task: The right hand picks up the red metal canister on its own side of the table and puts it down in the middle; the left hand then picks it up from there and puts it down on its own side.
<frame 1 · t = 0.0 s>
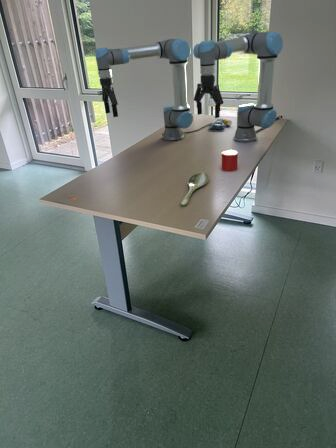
left hand: (111, 114, 206), 28 cm above the table, tool pointing down, fingers open, 13 cm apart
right hand: (208, 115, 185), 28 cm above the table, tool pointing down, fingers open, 13 cm apart
canister: (229, 168, 191), on the table
spoon: (193, 190, 170), on the table
spray gun: (221, 126, 264), on the table
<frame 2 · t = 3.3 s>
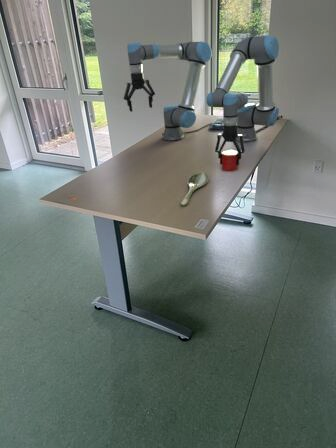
left hand: (141, 109, 209), 29 cm above the table, tool pointing down, fingers open, 13 cm apart
right hand: (229, 164, 189), 3 cm above the table, tool pointing down, fingers closed on canister, 9 cm apart
canister: (229, 168, 191), on the table, touching right hand
everything else where it was.
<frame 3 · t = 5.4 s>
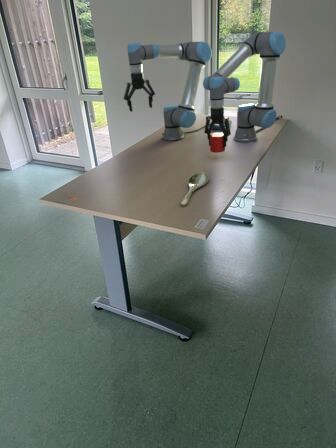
left hand: (141, 109, 209), 29 cm above the table, tool pointing down, fingers open, 13 cm apart
right hand: (217, 145, 199), 9 cm above the table, tool pointing down, fingers closed on canister, 9 cm apart
canister: (217, 150, 201), point 6 cm above the table, touching right hand
everything else where it was.
when the right hand's fingers open (4 cm above the table, at t = 7.8 s): canister drops 2 cm, on the table.
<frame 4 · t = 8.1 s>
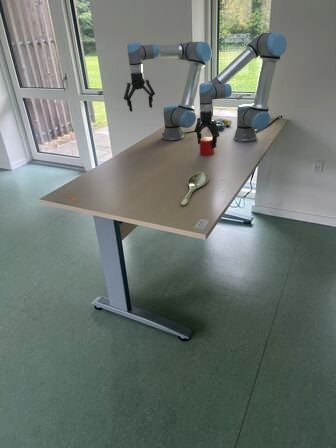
left hand: (141, 109, 209), 29 cm above the table, tool pointing down, fingers open, 13 cm apart
right hand: (206, 145, 212), 5 cm above the table, tool pointing down, fingers open, 12 cm apart
canister: (207, 153, 215), on the table
everything else where it was.
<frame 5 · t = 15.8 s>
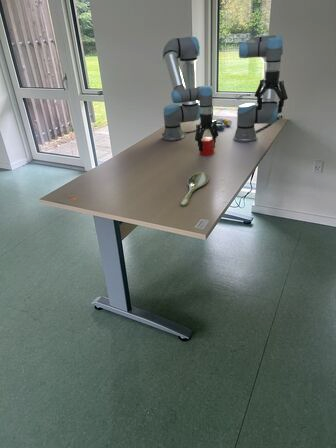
left hand: (206, 149, 213), 3 cm above the table, tool pointing down, fingers closed on canister, 9 cm apart
right hand: (269, 111, 190), 26 cm above the table, tool pointing down, fingers open, 13 cm apart
canister: (207, 153, 215), on the table, touching left hand
everything else where it was.
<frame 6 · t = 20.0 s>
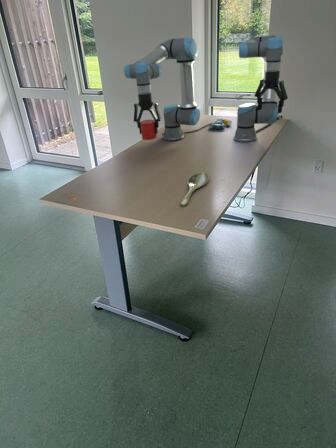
left hand: (148, 133, 197), 19 cm above the table, tool pointing down, fingers closed on canister, 9 cm apart
right hand: (269, 111, 190), 26 cm above the table, tool pointing down, fingers open, 13 cm apart
canister: (149, 137, 199), point 16 cm above the table, touching left hand
everything else where it was.
when the left hand's fingers open (4 cm above the table, at t = 24.2 s): canister drops 1 cm, on the table.
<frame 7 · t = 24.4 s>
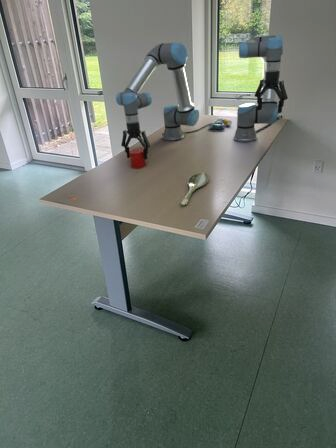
left hand: (137, 158, 203), 5 cm above the table, tool pointing down, fingers open, 11 cm apart
right hand: (269, 111, 190), 26 cm above the table, tool pointing down, fingers open, 13 cm apart
canister: (138, 165, 206), on the table
everything else where it was.
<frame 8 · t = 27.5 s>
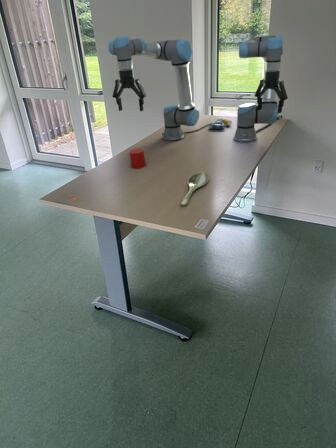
left hand: (131, 110, 188), 33 cm above the table, tool pointing down, fingers open, 13 cm apart
right hand: (269, 111, 190), 26 cm above the table, tool pointing down, fingers open, 13 cm apart
nothing on the table moved.
at the end: canister inside the target area (0.0 cm from its centre), on the table; canister tilted 0°; the two hands never held the canister at the same time; the left hand is holding nothing; the right hand is holding nothing; canister at rest at the end (0.0 cm/s) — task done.
